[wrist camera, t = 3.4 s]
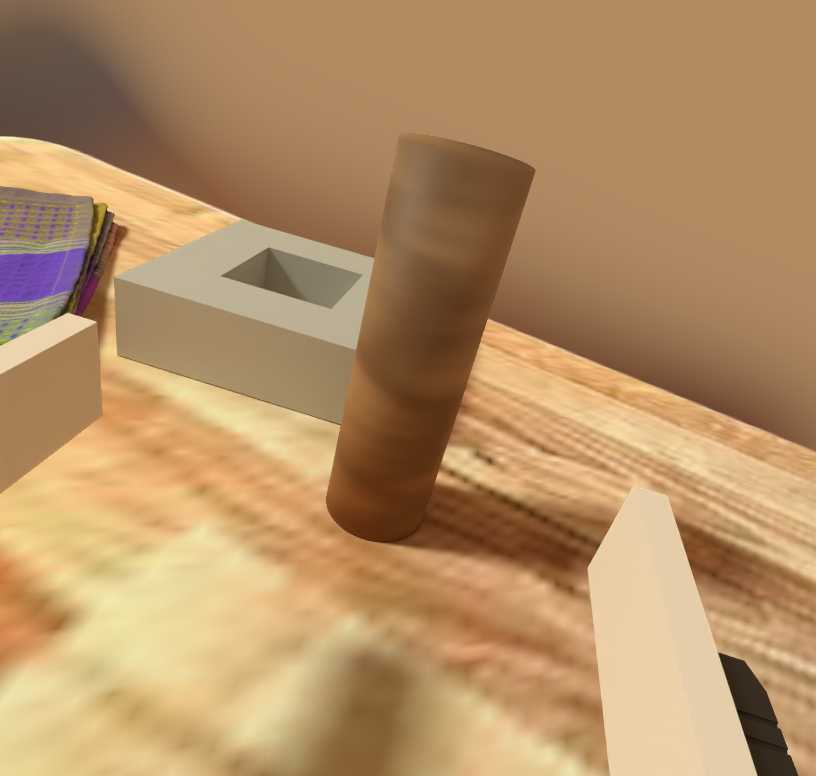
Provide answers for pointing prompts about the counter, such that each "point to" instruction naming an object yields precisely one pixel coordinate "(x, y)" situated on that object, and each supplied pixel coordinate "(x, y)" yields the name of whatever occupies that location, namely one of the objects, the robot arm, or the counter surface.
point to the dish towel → (49, 256)
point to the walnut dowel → (421, 327)
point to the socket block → (250, 315)
